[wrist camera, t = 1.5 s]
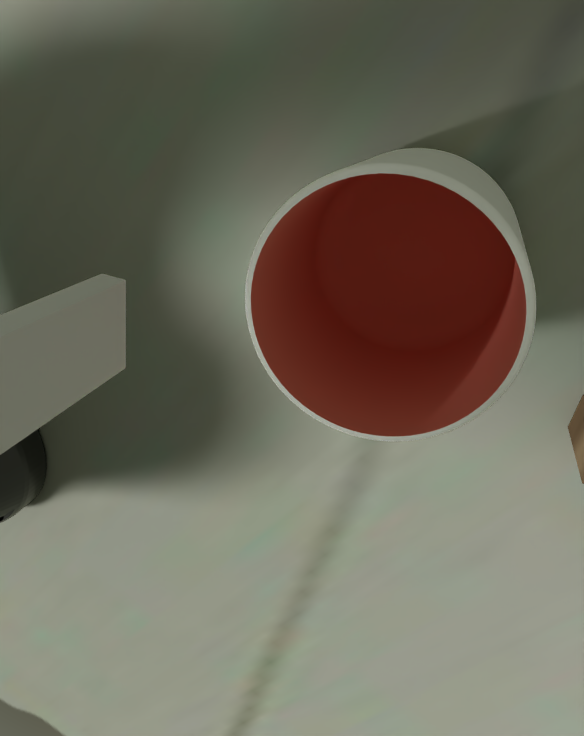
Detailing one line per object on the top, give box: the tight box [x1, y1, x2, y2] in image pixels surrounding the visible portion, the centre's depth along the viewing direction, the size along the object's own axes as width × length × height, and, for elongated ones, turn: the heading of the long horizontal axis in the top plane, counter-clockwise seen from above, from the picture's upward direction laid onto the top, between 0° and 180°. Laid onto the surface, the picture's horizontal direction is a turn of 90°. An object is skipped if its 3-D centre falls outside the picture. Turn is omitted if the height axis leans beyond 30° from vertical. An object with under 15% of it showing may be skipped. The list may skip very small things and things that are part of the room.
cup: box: [245, 148, 536, 441], centre depth 23 cm, size 10×10×10 cm
